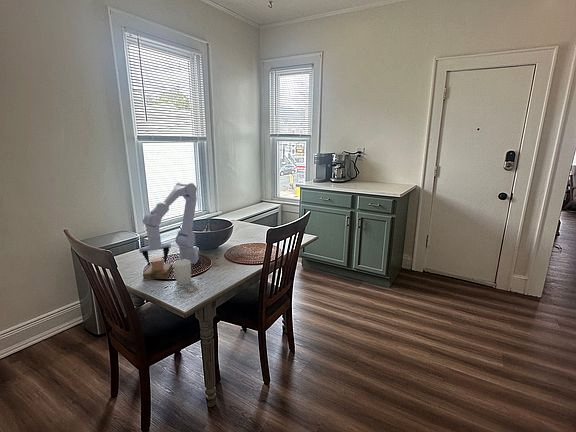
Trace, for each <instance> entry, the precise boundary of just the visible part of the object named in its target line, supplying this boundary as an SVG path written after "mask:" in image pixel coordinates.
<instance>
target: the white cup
mask: <svg viewBox="0 0 576 432" xmlns="http://www.w3.org/2000/svg"><path fill="white" fill-rule="evenodd" d="M172 267H173V271H174V277H175V282H176V284H177V285H179V286H183V285H188V284H190V283H191V282H192V264H191V261H190V260H186V259H184V260H180V259H178V260H176V261H174V262H172Z"/></svg>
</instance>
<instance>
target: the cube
mask: <svg viewBox="0 0 576 432" xmlns="http://www.w3.org/2000/svg"><path fill="white" fill-rule="evenodd" d="M150 261H151V265H152V269H153V271H158V270H164V267H163V264H164V259H163V257H162V256H159V257H153V258H150Z"/></svg>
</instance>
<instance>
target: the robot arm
mask: <svg viewBox="0 0 576 432" xmlns="http://www.w3.org/2000/svg"><path fill="white" fill-rule="evenodd" d="M197 189H198V187H197V186H196V185H195V183H192V182H183V181H179V182H178V181H177V183H176V184H175V185H173V188H172V191H170V193H169V194H168V196H167V197H166V198H165V200H163V201H160V202H159V203H156V206H155V207H154V208H153V209H152V210H150V211H149V212H150V213H146V215H144V217H143V220H142V223H143V225H145V229H146V235H147V243H148V245H146V246H142V247H139V248H138V251H139V253H140V254H142V256H143V257H144V259H145V260H146V262H147V266H148V267H149V266H150V265H151V264H150V259H149V252H151V251H152V252H153V251H158V250H162V251H163V263H165V264H167V259H168V255H169V252H170V249H172V244H171V242H170V243H169V242H168V243H162V241H161V240H162V239H161V232H160V225H161V223H162V220H163V217H165V215H166V214H167V213H168V212H169V211H170V206H171V205H172V204H173V203H174V202H176V201H177V199H178V198H180V197H182V198H183V199H184V201H185V205H184V211H183V215H182V217H183V218H182V223H181V229H179V230H178V231H177V235H176V237H175V243H176V245H177V246H178V250H179V260H184V259H186V260H190V261H191V265H196V264H197V263H198V261H199V259H200V258H199V251H198V250H199V249H198V246H196V245H195V244H196V234H195V232H194V231H193V226H194V218H195V214H196V213H195V212H196V207H197V200H198V197H197V191H198V190H197Z"/></svg>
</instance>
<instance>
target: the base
mask: <svg viewBox="0 0 576 432" xmlns="http://www.w3.org/2000/svg"><path fill="white" fill-rule="evenodd" d="M163 267H164V270H158V271H153V269H152V264H150V266H148V267H147V269H145V271H144V272H142V277H143V280H159V279H160V280H163V279H164V280H165V279H168V277H169V275H170V274H171V273H170V272H172V271H173V270H174V267H173V263H165V264H164V263H163ZM172 269H173V270H172Z"/></svg>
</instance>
